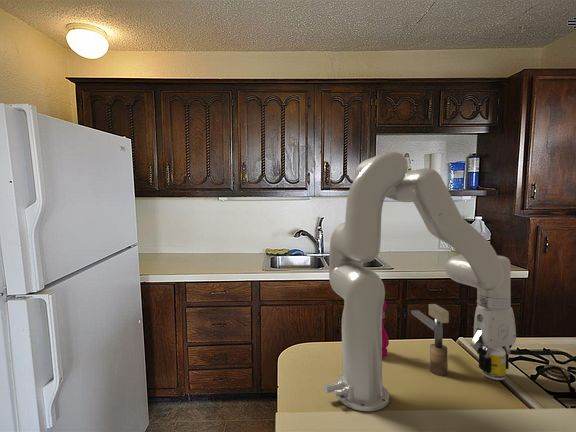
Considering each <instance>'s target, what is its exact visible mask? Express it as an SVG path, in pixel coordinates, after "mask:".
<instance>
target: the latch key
mask: <svg viewBox="0 0 576 432" xmlns="http://www.w3.org/2000/svg"><path fill="white" fill-rule="evenodd" d="M449 312H450V311H448V310H446V309H445V308H444V307H441V306H440V305H438V304H437V303H429V304H428V315H429V316H430V317H431V318H433V319H434V320H433V319H431V318H430V317H428V316H427V315H426V314H424V313H423V312H421V311H420V310H418V309H417V310H414V309H413V310H412V309H411V310H410V314H411V315H412V316H413V317H414V318H417V319H418V320H419V321H421V323H422V324H424V325H425V326H427V327H428V328H429V329H431V330H432V331H434V344H435V346H436V347H443V345H444V343H443V330H444V329H443V324H448V323H449V322H450V318H449V317H450V314H449Z"/></svg>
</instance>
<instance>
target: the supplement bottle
mask: <svg viewBox="0 0 576 432" xmlns="http://www.w3.org/2000/svg"><path fill="white" fill-rule="evenodd" d="M483 350H484V351H485V350H486V347H484V346H483ZM489 358H491V373H487V372H485V371H484V370H482V369H481V373H482V374H483V375H484V377H486V378H489V379H491V380H495V381H501V380H502V381H503V380H505V379H506V377H507V374H506V373H507V371H506V370H507V369H506V352H505V350H504V349H503V348H502V347H499V348H493V349H491V351H490V355H489Z"/></svg>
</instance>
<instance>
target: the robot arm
mask: <svg viewBox="0 0 576 432" xmlns="http://www.w3.org/2000/svg"><path fill="white" fill-rule="evenodd" d="M408 167H409V164H408V161H407V159H406V157H405V156H404V155H403V154H402V153H399V152H396V151H388V152H384V153H381V154H378V155H375V156H373V157H370V158H367V159H365V160H363V161H362V162H360V163H359V164H358V165H357V167H356V169H355V174H354V175H355V176H354V178H355V179H354V180H353V182H352V183H351V185H350V188H349V190H348V193H347V198H346V205H345V206H346V207H345V219H344V222H343V223H340V224H338V225H337V226H336V227H335V228H334V230H333V231H332V234H331V236H330V243H329V264H328V267H329V268H328V271H329V272H328V279H329V284H330V286H331V289H332V291H334V293H335V294H337V295H338V296H339V297H340V298H342V299H343V301H344V303H343V304H344V306H343V310H342V317H341V358H342V359H341V360H342V374H341V375H338V380H336V381H335V382H332V383H331V382H330V383H325V384H324V385H323V390H324V391H325V393H326V394H330V393H333V396H334V397H335V398H338V401H340V402H341V403H342V404H343V405H344V406H346V407H348V408H349V409H352V410H354V411H355V410H356V411H360V412H375V411H380V410H381V409H384V408H385V407H387V405H388V404H389V403H390V391H388V389H387V388H386V387H385V386H384V385H383V359H382V309H383V304H384V300H385V295H386V289H385V284H384V282H383V280H382V279H381V277H380V276H379V275H378V274H377V273H376V272H375V271H374V270H372V269H370V268H367V267H365V266H363V263H368V262H372V261H374V260H375V259H376V258H377V257H378V256H379V254H380V251H381V241H382V235H381V234H382V212H383V206H384V201H385V199H386V198H387V199H391V200H393V201H398V202H402V203H413V204H414V206H415V208H416V211H418V213H419V216H420V217H421V219H422V221H423V223H424V225H425V227H426V229H427V230H428V232H429V233H430V234H432V236H434V237H436V238H437V239H439V240H440V241H442V242H444V243H445V244H448V245H449V246H450V247H452V248H454V249H455V250H456V251H457V252H458V253H459V254H458V255H455V256H452V257H450V258H449V259H447V261H446V262H445V265H444V270H445V273H446V275H447V276H448V278H450V279H451V280H452V281H455V282H456V283H459V284H462V285H466V286H470V287H474V288H476V289H477V290H476V291H477V292H476V293H477V294H476V298H477V299H476V303H477V304H476V305H477V306H476V307H475V312H474V322H473V338H472V340H471V342H470V343H469V344H470V346H471V348H472V349H474V351H475V352H476V354H477V355H478V369H480V370H481V371H482V370H484V371H485V372H487V373H491V358H489V355H490V351H491V349H493V348H499V347H502V348H503V349H504V350H505V352H506V370H509V369H510V368H509V367H510V366H509V361H510V360H509V356H510V355H509V354H511V348H512V346H513V345H514V344H516V340H517V333H516V332H517V331H516V330H517V329H516V321H515V319H516V318H515V314H514V310H513V307H511V302H512V301H511V299H512V298H511V294H512V293H511V292H512V291H511V273H512V272H511V269H512V268H511V265H512V264H511V261H510V259H509V258H508V257H506V256H504V255H498V254H497V252H496V251H495V249H494V247H493V246H492V244H491V243H490V242H489V240H488V239H487V238H486V237H485V236H484V235H482V234H481V233H480V232H479V231H478V230H477V229H476V228H475V227H474V226H472V224H471V223H469V222H468V221H466V219H464V218H463V216H462V215H461V213H460V211H459V209H458V207H457V205H456V203H455V201H454V200H453V198H452V195H451V194H450V191H449V190H448V187H447V185H446V183H445V182H444V180H443V177H442V176H441V175H440V173H439V172H438V171H437V170H435V169H432V168H418V169H414V170H409V169H408ZM408 170H409V171H408ZM483 346H484V347H486V350H485V351H484V350H483Z"/></svg>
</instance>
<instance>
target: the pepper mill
mask: <svg viewBox="0 0 576 432" xmlns="http://www.w3.org/2000/svg"><path fill="white" fill-rule="evenodd" d="M385 310H387V302H386V300H385V299H384V304H383V309H382V360H383V359H385V358H387V357H388V346H389V344H390V340H389V339H390V338H389V336H388V334H387V331H386V328H385V327H384V326H385V325H384V319H385V317H386V313H385Z"/></svg>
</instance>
